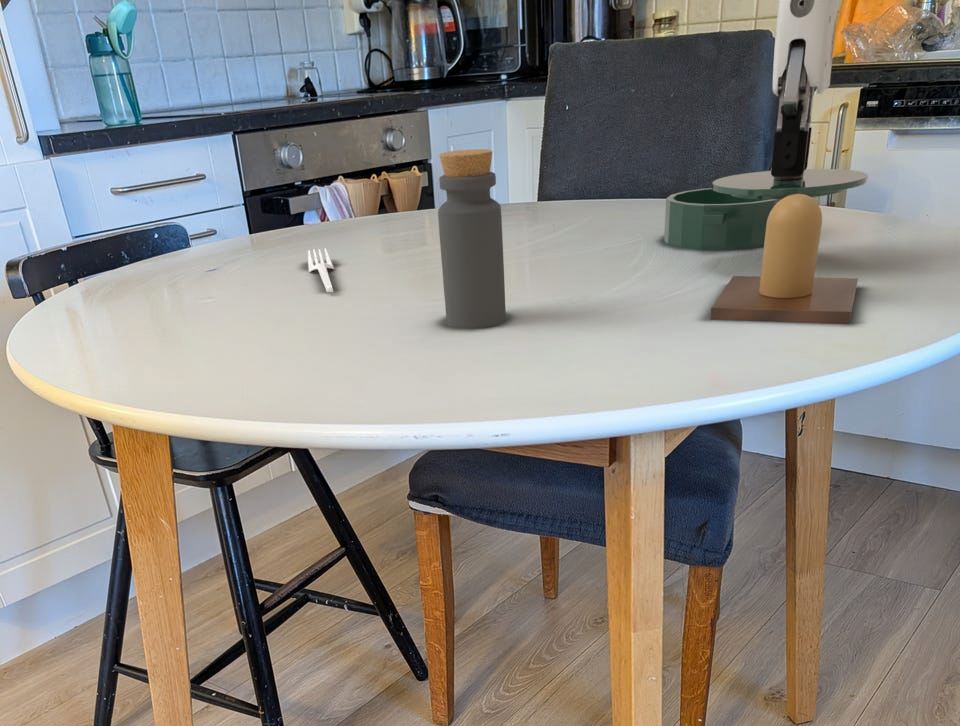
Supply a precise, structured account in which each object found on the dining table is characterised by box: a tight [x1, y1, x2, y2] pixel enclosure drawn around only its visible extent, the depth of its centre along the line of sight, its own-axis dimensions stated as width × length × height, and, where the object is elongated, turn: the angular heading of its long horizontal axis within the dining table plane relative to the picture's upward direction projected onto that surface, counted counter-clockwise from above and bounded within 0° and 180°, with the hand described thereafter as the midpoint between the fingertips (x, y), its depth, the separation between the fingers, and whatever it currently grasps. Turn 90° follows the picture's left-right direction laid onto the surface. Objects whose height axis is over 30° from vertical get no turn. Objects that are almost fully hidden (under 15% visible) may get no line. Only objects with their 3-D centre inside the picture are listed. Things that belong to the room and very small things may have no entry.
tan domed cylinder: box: [759, 194, 823, 298], centre depth 80 cm, size 5×5×8 cm
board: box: [709, 275, 859, 325], centre depth 83 cm, size 12×13×2 cm
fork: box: [307, 248, 335, 293], centre depth 108 cm, size 3×20×2 cm, turn 13°
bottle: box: [437, 148, 507, 330], centre depth 82 cm, size 6×6×15 cm
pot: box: [663, 187, 781, 251], centre depth 110 cm, size 15×20×6 cm
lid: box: [711, 123, 869, 199], centre depth 91 cm, size 16×16×6 cm
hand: (789, 171), depth 92 cm, fingers closed on lid, 3 cm apart
